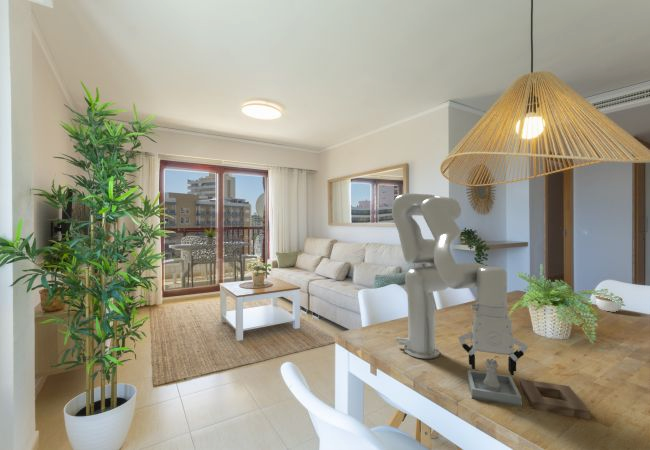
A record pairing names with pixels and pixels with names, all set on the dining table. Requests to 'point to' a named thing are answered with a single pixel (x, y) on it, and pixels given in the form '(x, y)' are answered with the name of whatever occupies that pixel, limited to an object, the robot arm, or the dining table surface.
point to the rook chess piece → (491, 376)
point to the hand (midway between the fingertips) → (491, 370)
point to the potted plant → (607, 304)
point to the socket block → (565, 406)
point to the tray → (504, 396)
